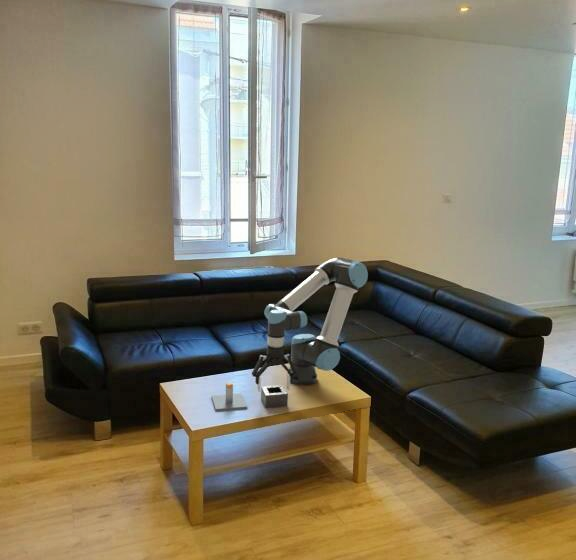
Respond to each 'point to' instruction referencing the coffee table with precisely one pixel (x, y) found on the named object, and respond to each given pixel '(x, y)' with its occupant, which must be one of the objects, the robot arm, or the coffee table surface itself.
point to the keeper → (229, 400)
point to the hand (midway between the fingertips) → (273, 389)
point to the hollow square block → (274, 396)
